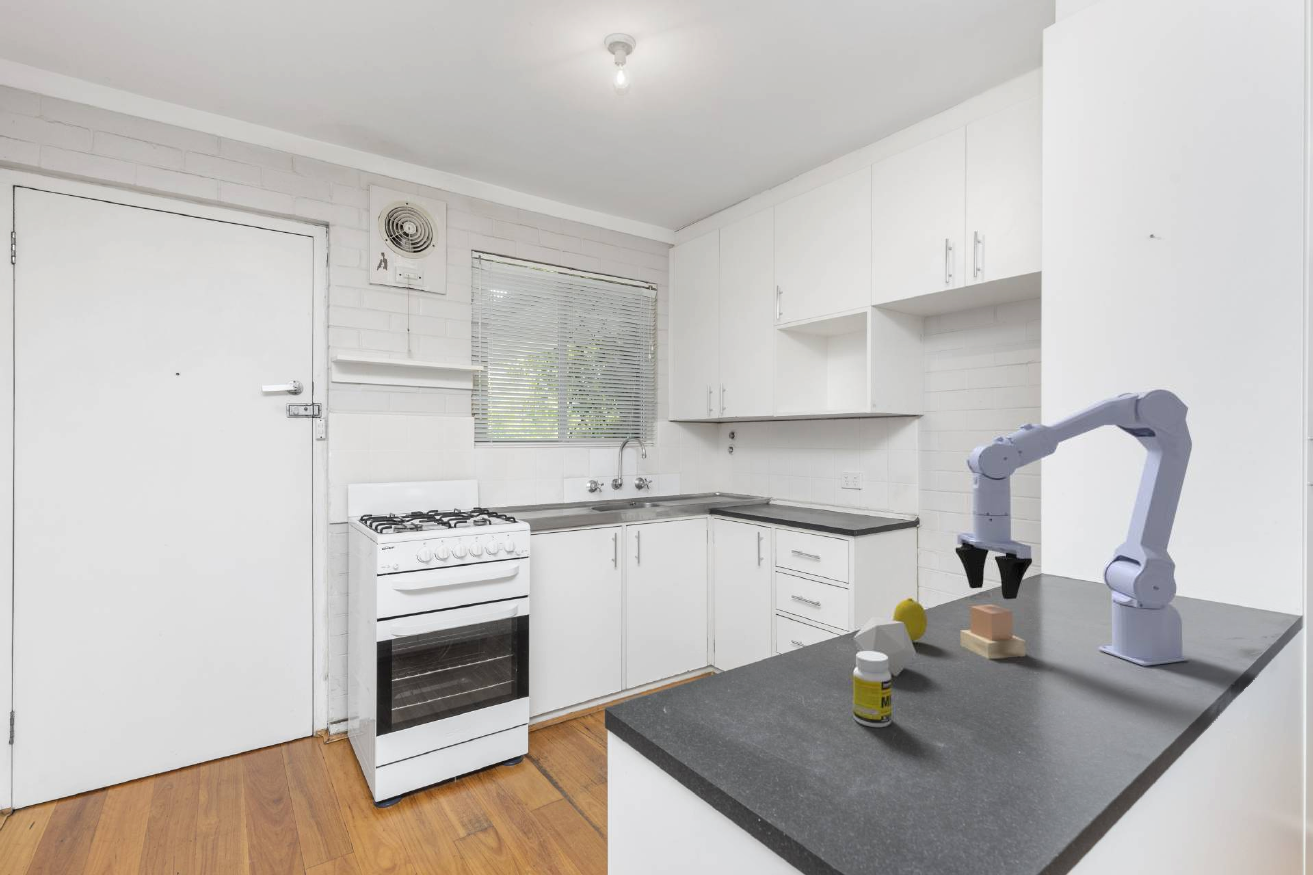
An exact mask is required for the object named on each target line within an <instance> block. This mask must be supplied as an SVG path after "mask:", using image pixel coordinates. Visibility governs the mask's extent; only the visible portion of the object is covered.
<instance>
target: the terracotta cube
mask: <svg viewBox="0 0 1313 875" xmlns="http://www.w3.org/2000/svg"><path fill="white" fill-rule="evenodd" d="M1013 628H1014V627H1013V610H1010V609H1006V608H1005V607H1001V606H998V605H994V604H991V603H990V604H983V605H974V606H970V630H971V633H974V634H976V635H979V636H981V637H984V638H987V639H989V640H999V639H1006V638H1013V636H1014V635H1013V634H1014V633H1013V632H1014V630H1013Z"/></svg>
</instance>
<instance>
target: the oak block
mask: <svg viewBox="0 0 1313 875" xmlns="http://www.w3.org/2000/svg"><path fill="white" fill-rule="evenodd" d="M960 646H962V647H963V648H965V649H967V650H970V651H972V652H974V653H975V654H978V655H979V656H981V657H983V658H986V659H988V660H989V659H991V660H992V659H1004V658H1005V659H1006V658H1016V657H1018V656H1020V657H1026V640H1025V639H1022V638H1020V637H1018V636H1016V635H1013V638H1006V639H999V640H989V639H987V638H984V637H981V636H979V635H976V634H974V633H971V629H964V630H963V629H961V630H960ZM1018 658H1019V657H1018Z"/></svg>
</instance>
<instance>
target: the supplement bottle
mask: <svg viewBox="0 0 1313 875" xmlns="http://www.w3.org/2000/svg"><path fill="white" fill-rule="evenodd" d="M855 663H856V664H855V665H856V667H855V668H854V670H853V671H852V677H853V678H852V680H853V681H852V682H853V685H852V686H853V687H852V688H853V693H852V694H853V701H852V702H853V703H852V704H853V705H852V707H853V708H852V709H853V710H852V711H853V713H852V714H853V715H852V716H853V718H854V720H855V721H856V722H857V723H859V724H861V725H863V726H867V727H871V728H884V727H887V726H889V725H891V723H892V675H891V674H890V672H889V671H888V667H889V664H888V657H887V656H886V655H885V654H883V653H879V652H874V651H861V652H859V651H858V652H857V653H856V655H855Z"/></svg>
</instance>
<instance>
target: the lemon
mask: <svg viewBox="0 0 1313 875" xmlns="http://www.w3.org/2000/svg"><path fill="white" fill-rule="evenodd" d="M893 620H894V621H899V622H904V624H905V627H906V629H907V632H908V634H909V637H910V639H911V642H912V643H913V642H915V641H916V640H919V639H921V638H922V637H923V636H924V634H925V632H926V630H927V626H928V619H927V615H926V610H925V609H924V607H923V606H922V604H920V603H919V602H917V601H915V600H914V599H913V598H911V597H908V598H907V599H904V600H902V601H900V602H899V603H898V604H897V605H896V607H895V608H894V612H893Z"/></svg>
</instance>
